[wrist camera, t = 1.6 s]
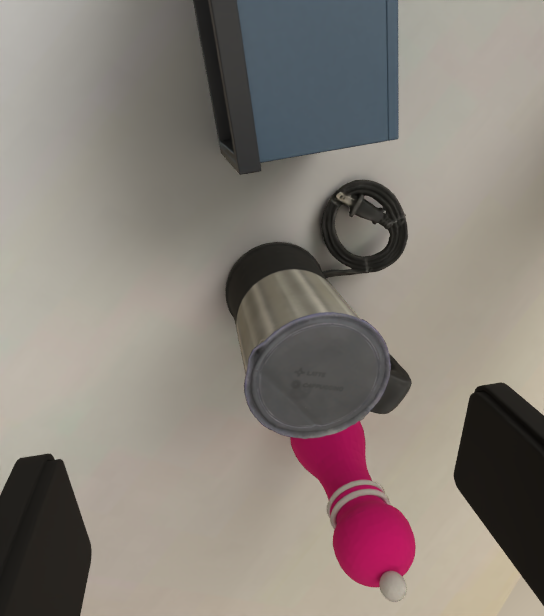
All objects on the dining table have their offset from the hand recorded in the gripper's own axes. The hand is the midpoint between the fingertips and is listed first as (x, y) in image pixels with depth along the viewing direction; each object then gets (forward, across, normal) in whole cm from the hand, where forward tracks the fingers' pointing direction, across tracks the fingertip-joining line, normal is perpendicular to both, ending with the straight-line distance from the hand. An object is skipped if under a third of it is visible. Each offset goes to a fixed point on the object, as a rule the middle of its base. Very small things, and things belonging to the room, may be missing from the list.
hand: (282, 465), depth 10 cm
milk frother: (+28, -8, +5) cm, 30 cm away
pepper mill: (+28, -9, +22) cm, 37 cm away
